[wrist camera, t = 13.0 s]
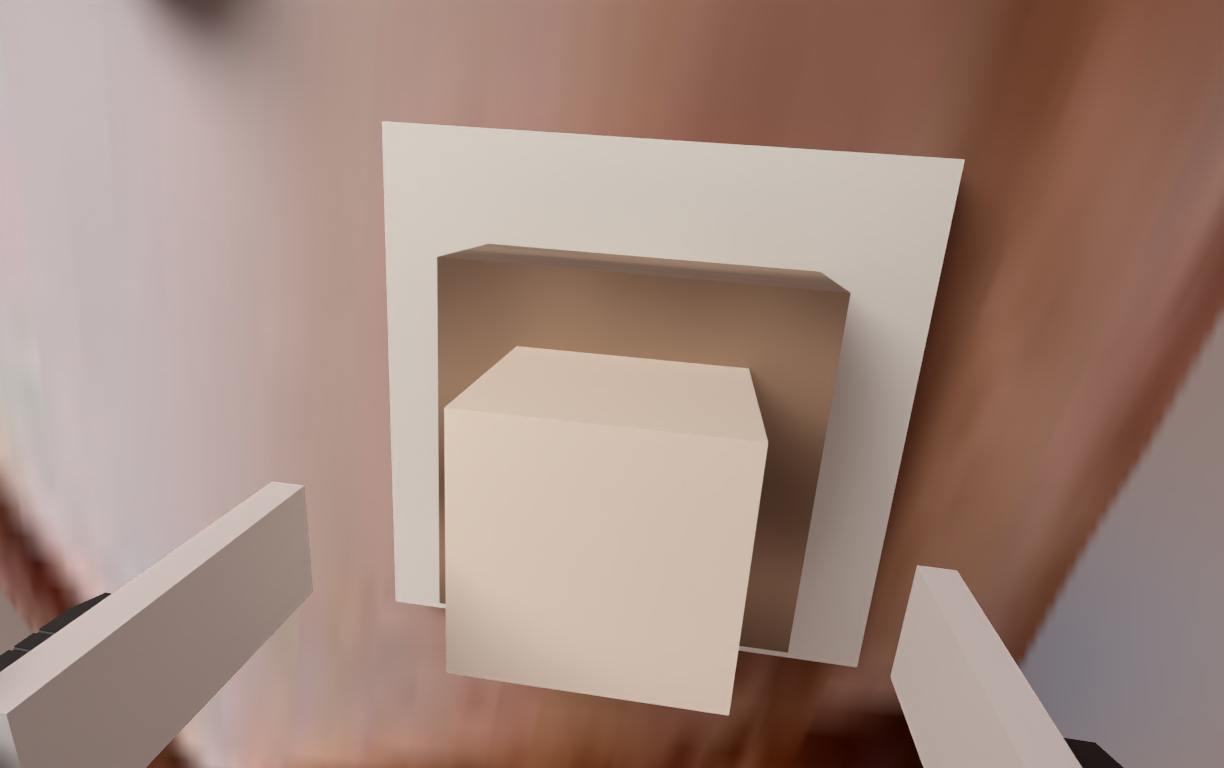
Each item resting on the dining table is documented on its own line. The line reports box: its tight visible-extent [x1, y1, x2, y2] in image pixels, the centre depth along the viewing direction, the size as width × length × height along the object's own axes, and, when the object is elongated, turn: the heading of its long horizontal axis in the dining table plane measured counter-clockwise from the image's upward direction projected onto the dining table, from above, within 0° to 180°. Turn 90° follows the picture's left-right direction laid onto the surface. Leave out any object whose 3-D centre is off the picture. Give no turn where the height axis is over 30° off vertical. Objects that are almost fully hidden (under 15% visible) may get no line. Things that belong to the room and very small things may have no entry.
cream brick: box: [444, 346, 768, 716], centre depth 18 cm, size 7×7×6 cm
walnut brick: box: [437, 244, 851, 653], centre depth 23 cm, size 12×12×5 cm
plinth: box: [382, 121, 965, 667], centre depth 27 cm, size 20×20×2 cm
